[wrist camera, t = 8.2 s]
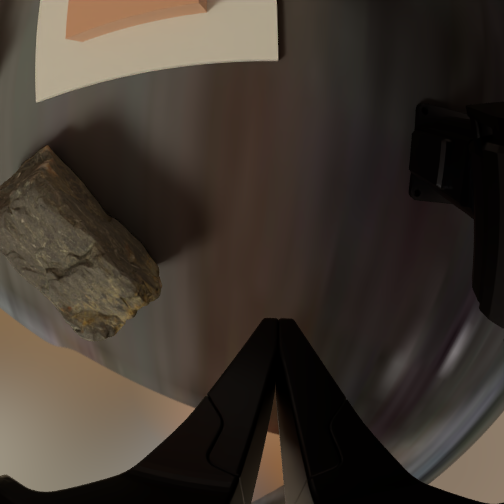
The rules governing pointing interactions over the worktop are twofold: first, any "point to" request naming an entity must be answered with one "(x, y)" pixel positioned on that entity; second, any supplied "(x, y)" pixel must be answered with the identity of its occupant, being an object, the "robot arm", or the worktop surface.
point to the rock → (73, 248)
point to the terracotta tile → (122, 15)
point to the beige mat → (152, 44)
